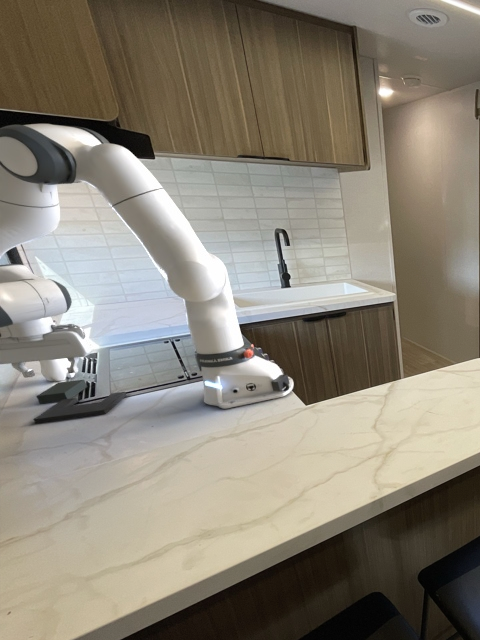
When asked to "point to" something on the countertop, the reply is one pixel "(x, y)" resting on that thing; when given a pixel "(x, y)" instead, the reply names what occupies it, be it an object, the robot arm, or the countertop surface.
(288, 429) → the countertop surface
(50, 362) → the water bottle
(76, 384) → the pad
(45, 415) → the notch mat
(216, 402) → the robot arm
